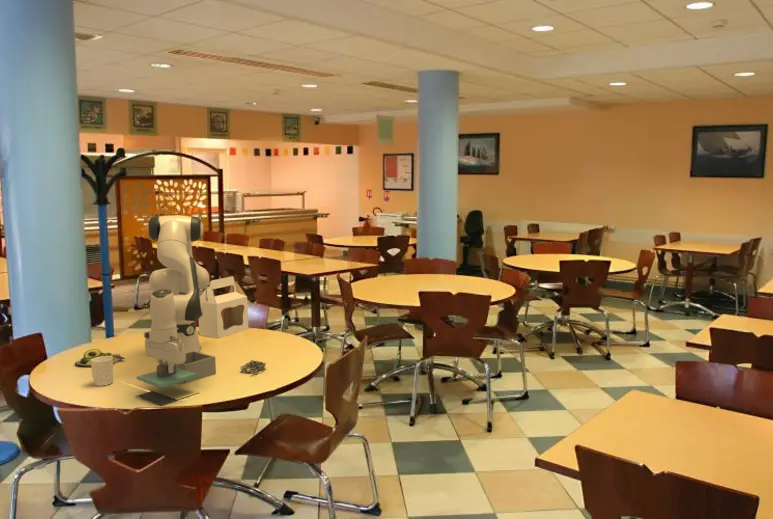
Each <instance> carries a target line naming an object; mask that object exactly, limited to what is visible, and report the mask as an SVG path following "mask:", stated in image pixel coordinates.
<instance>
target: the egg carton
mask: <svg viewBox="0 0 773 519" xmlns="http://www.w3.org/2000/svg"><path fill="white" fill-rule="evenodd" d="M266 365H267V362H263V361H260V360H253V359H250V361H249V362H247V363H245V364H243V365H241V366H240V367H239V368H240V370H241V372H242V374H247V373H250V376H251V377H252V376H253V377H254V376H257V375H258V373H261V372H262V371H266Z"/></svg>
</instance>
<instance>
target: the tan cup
mask: <svg viewBox="0 0 773 519" xmlns="http://www.w3.org/2000/svg"><path fill="white" fill-rule="evenodd" d="M90 368H91V374H92V378H93V385H94V384H95V385H106V386H108V385H107V384H110V385H112V384H113V383H114V377H113V376H114V364H113V357H111V356H100V357H96V358H93V359H91V367H90ZM112 382H113V383H112ZM111 383H112V384H111ZM95 385H94V386H95Z"/></svg>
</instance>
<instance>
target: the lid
mask: <svg viewBox="0 0 773 519" xmlns="http://www.w3.org/2000/svg"><path fill="white" fill-rule="evenodd" d="M168 366H169V364H168V363H165V364H161V365H159V364H158V365H156V370H155V371H153V372H148V373H145V374H141V375H138V376H136V380H138V381H142V382H143V383H145V384H149V385H152V386H154V387H158V388H161V389H164V388H167V387H168V388H169V387H171V386H173V385H177V384H180V383H184V381H188V380H190V378H192V377H196V376H197V374H196V373H193V372H189V371H186V370H182V369H179V368H176V364H175V365H174V367H173V373H167V368H168Z"/></svg>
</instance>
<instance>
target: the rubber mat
mask: <svg viewBox="0 0 773 519" xmlns="http://www.w3.org/2000/svg"><path fill="white" fill-rule="evenodd" d="M198 394H200V392H197V393H194V394H191V395H187V396H185V397H181V398H179V399H177V398H173V397H171V396H168V395H165V394H162V393H159V392H156V391H154V390H150V391H147V392H144V393H141V394H137V395H136V396H138V397H140V398H142V399H141V400H143V399H144V401H147V402H149V403H151V402H152V404H154V405H158V406H160V407H162V406H166V405H168V404H172V403H175V402H177V401H182V400H184V399H187V398H190V397H192V396H193V397H194V396H195V395H198ZM138 397H137V398H138ZM140 398H139V399H140Z"/></svg>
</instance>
